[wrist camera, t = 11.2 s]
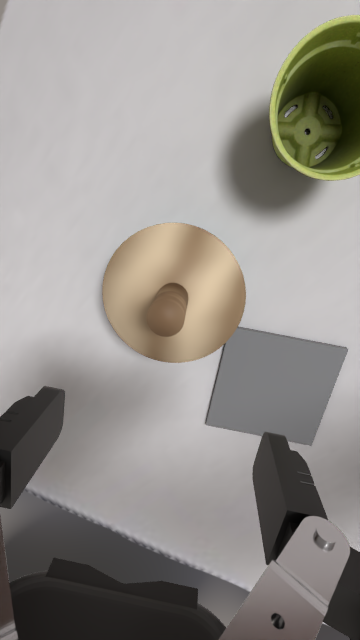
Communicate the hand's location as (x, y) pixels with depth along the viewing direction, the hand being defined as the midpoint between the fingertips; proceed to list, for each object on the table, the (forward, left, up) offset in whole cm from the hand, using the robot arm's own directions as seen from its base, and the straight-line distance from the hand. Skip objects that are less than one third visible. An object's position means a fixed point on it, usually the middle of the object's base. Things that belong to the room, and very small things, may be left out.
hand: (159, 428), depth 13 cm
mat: (-12, +10, -24) cm, 28 cm away
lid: (+1, 0, -19) cm, 19 cm away
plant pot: (-8, -16, -24) cm, 30 cm away
